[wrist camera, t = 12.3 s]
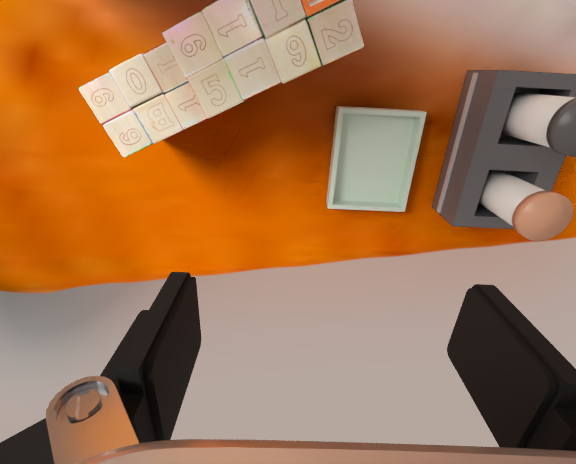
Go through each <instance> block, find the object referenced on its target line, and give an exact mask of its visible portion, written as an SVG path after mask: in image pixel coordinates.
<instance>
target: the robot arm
mask: <svg viewBox="0 0 576 464" xmlns="http://www.w3.org/2000/svg"><path fill="white" fill-rule="evenodd" d="M200 345H201V330H200V319H199V308H198V297H197V286H196V278H195V277H191V276H190V273H186V272H171V274H170V275H169V277H168V279H167V280H166V282H165V284H164V285H163V287H162V289H161V290H160V292H159V294H158V296H157V297H156V299H155V301H154V302H153V304H152V306H151V308H150V309H149V310H143V311H141V312H140V313H139V314H138V316H137V317H136V319H135V321H134V322H133V324H132V325H131V327H130V329H129V330H128V332H127V333H126V335H125V337H124V338H123V340H122V341H121V343H120V345H119V346H118V348H117V350H116V351H115V353H114V354H113V356H112V358H111V359H110V361H109V362H108V364H107V366H106V367H105V369H104V370H103V372H102V374H101V375H100V376H91V377H85V378H82V379H80V380H77V381H75V382H73V383H71V384H70V385H68V386H66V387H65V388H63V389H62V390H61V391H60V392H59V393H57V394H56V396H55V397H54V398H53V399H52V401H51V402H50V404H49V406H48V408H47V410H46V418H45V419H43V420H41V421H39V422H38V423H36V424H34V425H32V426H30V427H28V428H27V429H25V430H23V431H21V432H19V433H17V434H16V435H14V436H12V437H10V438H8V439H6V440H5V441H3V442H1V443H0V464H576V369H575V368H574V367H573V366H572V365H571V364H570V363H569V362H568V361H567V360H566V359H565V357H563V356H562V355H561V353H560V352H559V351H558V350H557V349H556V348H555V347H554V346H553V345H552V344H550V342H549V341H548V340H547V339H546V338H545V337H544V336H543V335H542V334H541V333H540V332H539V331H538V330H537V329H536V328H535V327H534V326H533V325H532V323H531V322H530V321H529V320H528V319H527V318H526V317H525V316H524V315H523V314H522V313H521V312H520V311H519V310H518V309H517V308H516V307H515V306H514V305H513V304H512V303H511V302H510V301H509V300H508V299H507V298H506V297H505V296H504V295H503V294H502V293H501V292H500V291H499V289H498V288H496V287H495V286H493V285H478V284H476V285H474V286H473V287H472V288H470V289H468V291H467V292H466V295H465V298H464V301H463V304H462V307H461V310H460V312H459V316H458V318H457V321H456V324H455V327H454V329H453V332H452V335H451V338H450V341H449V344H448V347H447V352H448V356H449V358H450V360H451V362H452V363H453V365H454V367H455V369H456V370H457V372H458V374H459V376H460V378H461V379H462V381H463V382H464V385H465V386H466V388H467V390H468V392H469V393H470V395H471V397H472V399H473V400H474V402H475V404H476V406H477V407H478V409H479V411H480V413H481V415H482V416H483V418H484V420H485V422H486V424H487V425H488V427H489V429H490V431H491V432H492V434H493V436H494V438H495V440H496V441H497V443H498V445H499V447H475V446H448V445H447V446H445V445H418V444H388V443H355V442H354V443H353V442H352V443H351V442H319V441H279V440H278V441H277V440H222V439H221V440H220V439H219V440H218V439H217V440H216V439H215V440H212V439H211V440H210V439H186V440H170V439H171V436H172V432H173V429H174V426H175V423H176V420H177V417H178V414H179V411H180V408H181V405H182V401H183V398H184V395H185V392H186V389H187V386H188V383H189V380H190V377H191V374H192V370H193V368H194V364H195V361H196V358H197V355H198V352H199V349H200Z"/></svg>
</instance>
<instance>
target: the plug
mask: <svg viewBox="0 0 576 464" xmlns="http://www.w3.org/2000/svg"><path fill="white" fill-rule="evenodd" d="M479 204H481V205H482V206H484V207H485V208H487V209H488V210H490V211H491V212H493V213H494V214H496V215H497V216H498V217H500V218H501V219H503V220H504V221H506V222H507V223H509V224H510V225H512V226H513V227H514V229H515V230H516V231H517V232H518V233H519V234H521V235H522V236H523V237H525V238H526V239H528V240H531V241H544V240H548V239H551V238H553V237H555V236H557V235H558V234H560V233H561V232H562V231H563V230H564V229H565V228H566V227H567V226H568V224H569V223H570V221H571V219H572V216H573V205H572V202H571V201H570V200H569V199H568V198H567V197H565V196H563V195H561V194H559V193H556V192H554V191H549V190H544V189H541V188H539V187H537V186H535V185H533V184H530V183H528V182H526V181H524V180H522V179H519V178H517V177H515V176H513V175H511V174H508V173H506V172H504V171H502V170H489V172H488V175H487V178H486V181H485V184H484V187H483V190H482V194H481V197H480V200H479Z"/></svg>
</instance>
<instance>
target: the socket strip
mask: <svg viewBox="0 0 576 464" xmlns="http://www.w3.org/2000/svg"><path fill="white" fill-rule="evenodd" d="M514 92H518V93H530V94H541V95H553V96H565V97H576V74H562V73H543V72H525V71H506V70H468V71H467V74H466V78H465V82H464V85H463V89H462V93H461V97H460V101H459V105H458V109H457V112H456V116H455V120H454V124H453V128H452V132H451V136H450V139H449V143H448V147H447V151H446V155H445V159H444V163H443V167H442V170H441V174H440V178H439V182H438V186H437V190H436V194H435V197H434V201H433V205H432V208H433V209H434V210H436V211H437V212H438V213H439V214H440V215H441V216H442V217H443V218H444V219H445V220H446V221H447V222H448V223H449V224H451V225H452V226H460V227H483V228H505V229H514V227H513V226H512V225H510V224H509V223H507V222H506V221H504V220H503V219H501V218H500V217H498V216H497V215H496V214H494V213H493V212H491V211H490V210H488V209H487V208H485V207H484V206H482V205H481V204H479V200H480V197H481V194H482V190H483V187H484V184H485V181H486V178H487V175H488V172H489V170H502V171H504V172H506V173H508V174H511V175H513V176H515V177H517V178H519V179H522V180H524V181H526V182H528V183H530V184H533V185H535V186H537V187H539V188H541V189H544V190H549V191H551V190H552V188H553V186H554V183H555V181H556V178H557V176H558V174H559V171H560V169H561V167H562V164H563V162H564V159H565V157H566V155H564V154H561V153H557V152H555V151H554V150H552V149H551V148H550V147H546V146H543V145H539V144H536V143H532V142H529V141H525V140H522V139H518V138H515V137H511V136H508V135H504V134H501V132H502V129H503V126H504V123H505V119H506V116H507V113H508V110H509V107H510V104H511V101H512V98H513V95H514Z"/></svg>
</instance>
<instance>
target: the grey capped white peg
mask: <svg viewBox="0 0 576 464" xmlns="http://www.w3.org/2000/svg"><path fill="white" fill-rule="evenodd" d="M501 134H504V135H508V136H511V137H515V138H518V139H522V140H525V141H529V142H532V143H536V144H539V145H543V146H546V147H550V148H551V149H552V150H554V151H555V152H557V153H561V154H564V155H567V156H572V157H576V97H565V96H553V95H541V94H530V93H518V92H514V95H513V98H512V101H511V104H510V107H509V110H508V113H507V116H506V119H505V123H504V126H503V129H502V132H501Z"/></svg>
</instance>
